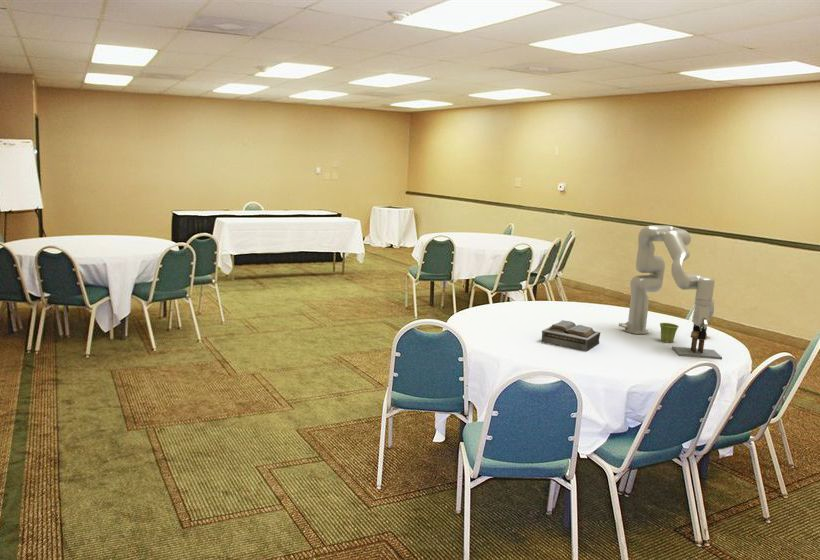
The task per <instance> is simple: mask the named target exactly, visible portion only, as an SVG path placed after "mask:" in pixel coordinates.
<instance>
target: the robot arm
mask: <svg viewBox="0 0 820 560" xmlns="http://www.w3.org/2000/svg"><path fill="white" fill-rule="evenodd" d="M637 238H638V239H637V242H638V245H637V247H638V248H637V254H636V261H635V269H636V271H637V272H638V273H641V274H638V275H634V276H633V277H632V278H631V280H630V283H629V284H630V301H629V302H630V303H629V311H628V312H629V313H628V320H627V321H626V322H625V323H623V322H618V327H621V328H623V330H624V331H625V332H626V333H630V334H633V335H635V334H636V335H648V334H649V330H648V329H647V323H648V322H647V319H648V315H649V314H648V313H649V302H650V300H649V297H648V293H657V292H659V291H660V290H661V288H662V287H663V283H664V277H665V276H664V274H665V269H666V265H665V263H666V262H665V260H664V259H663V257H662V256H660V255H657V254H655V251H656V250H655V249H656V248H655V244H654V242H664V246H665V247H666V249H667V251H668V253H669V255H670V258H671V260H672V264H671V276H672V278H673V280H674V282H675V285H676V286H677V287H678V288H679V289H681V290H686V291H688V290H695V298H694V305H695V306H694V309H693V313H692V321H691V322H692V323H693V326H692V331H699V335H698V339H705V338H706V333H707V331H708V330H707V329H708V326H709V325H708V324H709V320H710V318H709V307H711V305H712V299H713V297H714V296H713V295H714V288H715V279H714V278H712V277H709V276H705V275H702V274H699V273H694V274H693V273H688V274H686V272H685V269H684V268H683V263H684V262H686V261H687V260H688V259H689V258H690V255H691V254H690V252H689V250H688V248H687V246H689V245H690V243H691V242H692V237H691V234H690V232H688V231H687V230H685V229H683V228H679V227H675V226H672V225H659V224H657V225H654V224H653V225H646V226H644V227H642V228H641V229H640V231H639V232H638V237H637ZM698 339H697V340H698Z"/></svg>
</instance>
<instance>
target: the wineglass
mask: <svg viewBox="0 0 820 560" xmlns="http://www.w3.org/2000/svg"><path fill="white" fill-rule="evenodd" d="M714 312H715V301H714V299H713V298H712V305H711V307H709V319H711V318H712V316H713V315H714ZM709 339H710V336H708V335H707V337H706V340H709Z"/></svg>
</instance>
